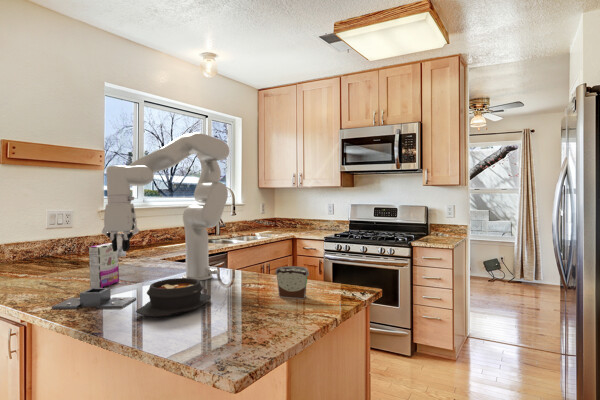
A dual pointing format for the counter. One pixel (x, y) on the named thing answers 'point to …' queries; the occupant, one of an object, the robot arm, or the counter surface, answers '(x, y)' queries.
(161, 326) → the counter surface
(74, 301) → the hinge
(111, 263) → the candy bar box
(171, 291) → the casserole
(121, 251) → the pin
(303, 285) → the food container
